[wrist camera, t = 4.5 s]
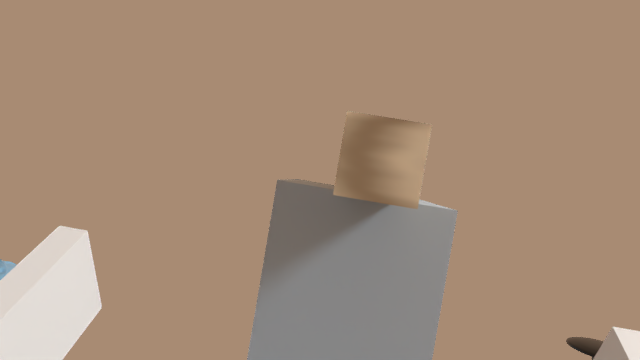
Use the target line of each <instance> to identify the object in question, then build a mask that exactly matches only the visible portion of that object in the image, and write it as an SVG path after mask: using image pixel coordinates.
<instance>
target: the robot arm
mask: <svg viewBox="0 0 640 360" xmlns="http://www.w3.org/2000/svg"><path fill="white" fill-rule="evenodd" d="M101 308H102V305H101V300H100V295H99V290H98V284H97V279H96V274H95V269H94V263H93V258H92V253H91V247H90V242H89V237H88V231H86V230H80V229H75V228H69V227H64V226H59V227H58V228H57V229H56V230H54V231H53V232H52V233H51V234H50V235H49V236H48V237H47V238H46V239H45V240H43V241H42V242H41V243H40V244H39V245H38V246H37V247H36V248H35V249H34V250H33V251H32V252H31V253H29V254H28V255H27V256H26V257H25V258H24V259H23V260H22V261H21V262H20V263H19V264H18V265H16V264H15V263H12V262H8V261H2V260H1V259H0V360H62V359H63V358H64V357H65V355H66V354H67V353H68V351H69V350H70V349H71V348H72V346H73V345H74V344H75V342H76V341H77V340H78V338H79V337H80V336H81V334H82V333H83V332H84V330H85V329H86V328H87V326H88V325H89V324H90V322H91V321H92V319H93V318H94V317H95V316H96V314H97V313H98V312H99V310H100V309H101ZM593 360H640V332H639V331H634V330H628V329H622V328H617V327H612V329H611V330H610V332H609V334H608V335H607V337H606V339H605V340H604V342H603V344H602V345H601V347H600V349H599V350H598V352H597V354H596V355H595V357H594V359H593Z"/></svg>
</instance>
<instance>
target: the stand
mask: <svg viewBox="0 0 640 360" xmlns="http://www.w3.org/2000/svg"><path fill="white" fill-rule="evenodd" d="M334 186H335V185H328V184H322V183H317V182H311V181H305V180H299V179H295V180H294V179H293V180H277V185H276V191H275V197H274V203H273V209H272V215H271V221H270V227H269V233H268V239H267V245H266V251H265V257H264V263H263V269H262V276H261V281H260V287H259V293H258V299H257V305H256V311H255V317H254V322H253V328H252V335H251V340H250V347H249V352H248V358H247V360H432V356H433V350H434V345H435V339H436V333H437V327H438V321H439V316H440V310H441V304H442V298H443V293H444V286H445V281H446V275H447V269H448V264H449V258H450V252H451V246H452V240H453V235H454V229H455V223H456V217H457V212H458V211H457V210H454V209H450V208H446V207H443V206H440V205H437V204H433V203H430V202H426V201H423V200H419V204H418V209H413V208H407V207H401V206H395V205H389V204H383V203H378V202H372V201H366V200H360V199H354V198H348V197H342V196H337V195H333V192H334Z"/></svg>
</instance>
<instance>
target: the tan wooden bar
mask: <svg viewBox="0 0 640 360" xmlns="http://www.w3.org/2000/svg"><path fill="white" fill-rule="evenodd" d="M431 128H432V125H431V124H425V123H419V122H413V121H407V120H400V119H394V118H388V117H382V116H375V115H370V114H363V113H357V112H351V111H347V115H346V122H345V127H344V133H343V139H342V145H341V150H340V156H339V162H338V168H337V174H336V181H335V186H334V192H333V195H337V196H342V197H348V198H354V199H360V200H366V201H372V202H378V203H383V204H389V205H395V206H401V207H407V208H413V209H418V204H419V198H420V192H421V187H422V181H423V175H424V169H425V163H426V158H427V152H428V146H429V140H430V134H431Z"/></svg>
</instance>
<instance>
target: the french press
mask: <svg viewBox="0 0 640 360" xmlns="http://www.w3.org/2000/svg"><path fill="white" fill-rule="evenodd" d="M566 342H567V344H568V345H570V346H571V347H572V348H574V349H576V350H578V351H580V352H582V353H584V354H587V355H590V356H592V360H593V359H594V357H595V355H596V354H597V352H598V350H599V349H600V347H601V345H602V344H603V341H600V340H596V339H591V338H583V337H572V338H568V339H567V340H566Z"/></svg>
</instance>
